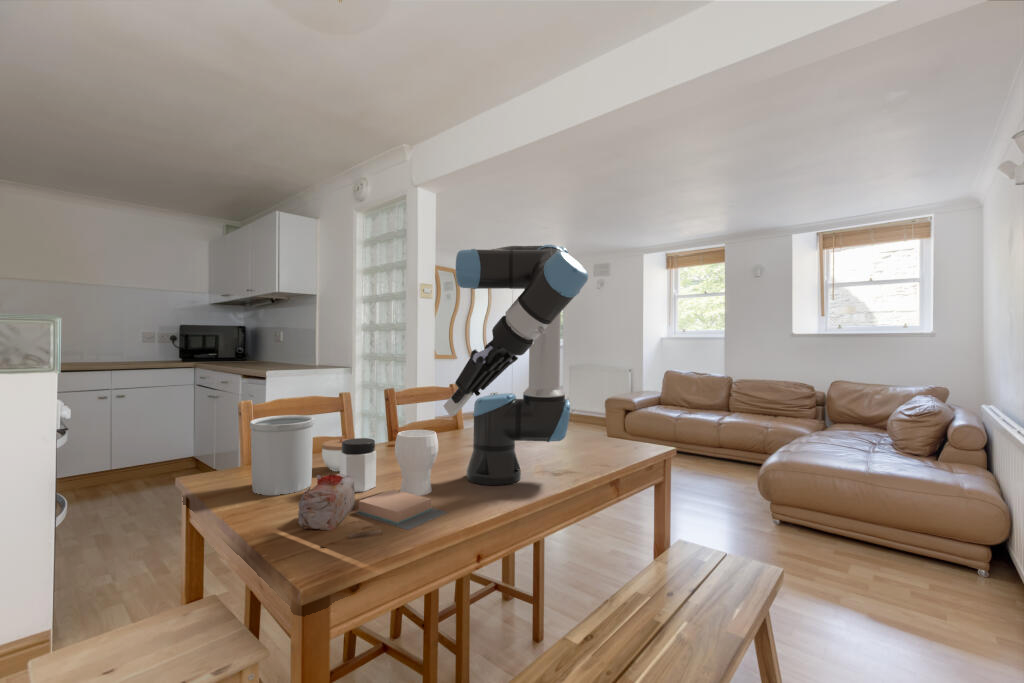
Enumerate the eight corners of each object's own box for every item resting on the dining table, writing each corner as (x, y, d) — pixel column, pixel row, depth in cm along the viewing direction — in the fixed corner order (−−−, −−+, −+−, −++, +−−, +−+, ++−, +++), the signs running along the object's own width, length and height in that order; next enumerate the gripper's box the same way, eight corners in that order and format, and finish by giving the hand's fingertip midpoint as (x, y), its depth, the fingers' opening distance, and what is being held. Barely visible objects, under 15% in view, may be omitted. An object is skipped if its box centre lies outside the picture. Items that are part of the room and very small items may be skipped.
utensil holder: (284, 499, 111) (285, 425, 112) (234, 493, 115) (235, 422, 116) (325, 482, 126) (326, 416, 126) (279, 477, 130) (280, 413, 130)
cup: (413, 503, 110) (414, 439, 110) (385, 494, 116) (386, 433, 116) (446, 492, 118) (447, 432, 118) (418, 484, 124) (418, 427, 125)
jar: (380, 488, 120) (380, 442, 120) (348, 495, 115) (349, 446, 115) (366, 480, 127) (367, 436, 127) (336, 486, 122) (336, 440, 122)
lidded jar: (316, 473, 133) (316, 440, 134) (327, 464, 144) (328, 433, 144) (354, 473, 134) (355, 440, 134) (363, 464, 145) (363, 433, 145)
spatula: (380, 532, 93) (380, 527, 93) (382, 539, 89) (382, 533, 89) (320, 541, 88) (320, 536, 88) (320, 549, 85) (320, 543, 85)
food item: (336, 535, 91) (336, 484, 91) (294, 535, 91) (295, 484, 91) (357, 510, 105) (358, 466, 105) (321, 510, 105) (322, 466, 105)
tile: (431, 498, 104) (393, 489, 110) (397, 512, 95) (358, 500, 102) (431, 509, 104) (393, 499, 110) (397, 523, 95) (358, 512, 102)
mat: (448, 514, 102) (448, 512, 102) (407, 532, 92) (408, 529, 92) (396, 500, 111) (396, 498, 111) (354, 516, 101) (354, 513, 101)
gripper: (512, 341, 79) (437, 430, 88) (549, 342, 90) (478, 420, 99) (487, 311, 82) (416, 399, 91) (526, 315, 93) (459, 393, 102)
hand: (449, 410), depth 95 cm, fingers closed
